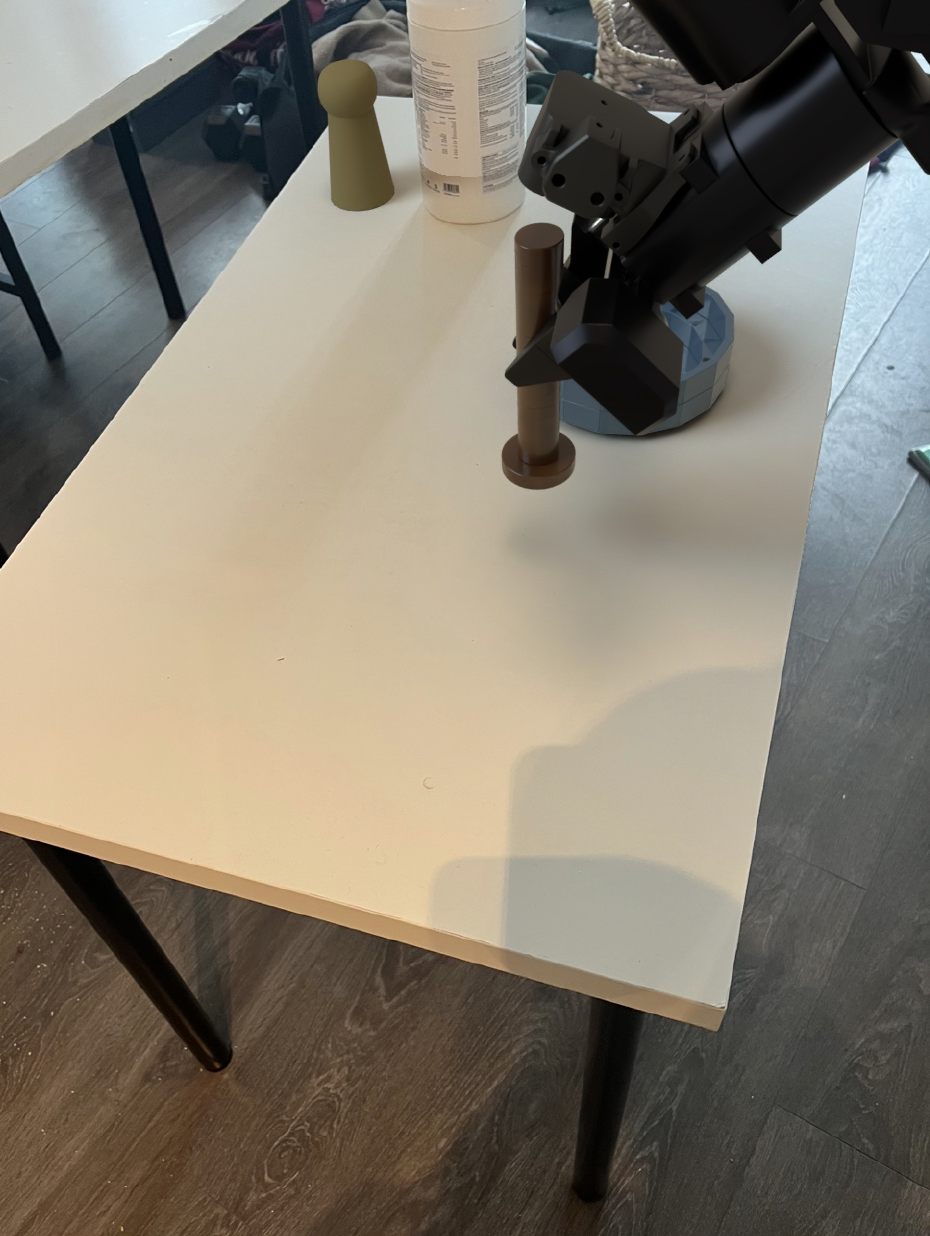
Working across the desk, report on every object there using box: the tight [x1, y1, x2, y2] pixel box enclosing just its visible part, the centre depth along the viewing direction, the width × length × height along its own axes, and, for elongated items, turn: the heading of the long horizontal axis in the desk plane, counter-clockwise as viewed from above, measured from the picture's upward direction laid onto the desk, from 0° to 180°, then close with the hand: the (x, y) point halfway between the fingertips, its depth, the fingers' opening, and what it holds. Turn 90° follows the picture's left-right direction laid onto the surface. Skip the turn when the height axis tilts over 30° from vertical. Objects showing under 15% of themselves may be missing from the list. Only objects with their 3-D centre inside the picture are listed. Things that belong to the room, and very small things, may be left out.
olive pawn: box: [317, 58, 395, 212], centre depth 87 cm, size 6×6×11 cm
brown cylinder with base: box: [500, 222, 577, 491], centre depth 53 cm, size 4×4×14 cm
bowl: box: [560, 285, 735, 436], centre depth 71 cm, size 14×14×4 cm
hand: (514, 364), depth 53 cm, fingers closed on brown cylinder with base, 2 cm apart
